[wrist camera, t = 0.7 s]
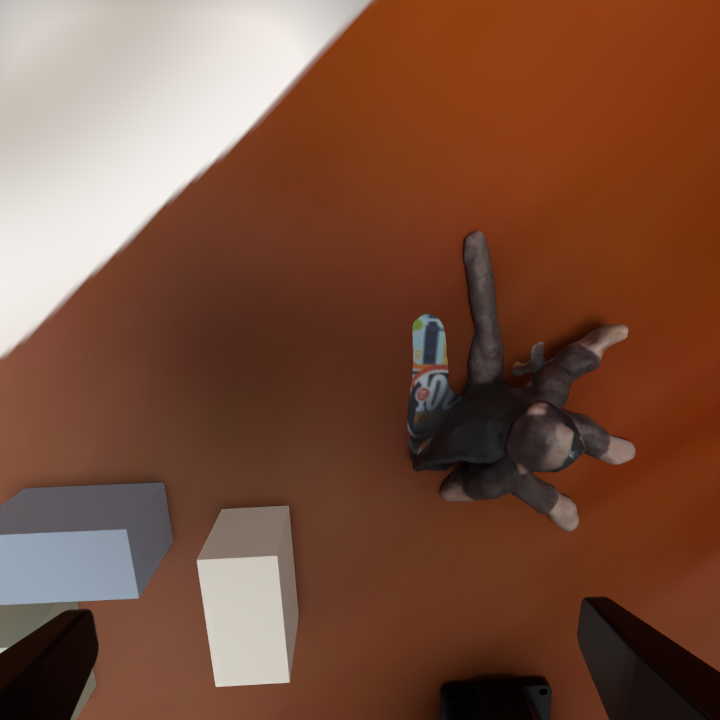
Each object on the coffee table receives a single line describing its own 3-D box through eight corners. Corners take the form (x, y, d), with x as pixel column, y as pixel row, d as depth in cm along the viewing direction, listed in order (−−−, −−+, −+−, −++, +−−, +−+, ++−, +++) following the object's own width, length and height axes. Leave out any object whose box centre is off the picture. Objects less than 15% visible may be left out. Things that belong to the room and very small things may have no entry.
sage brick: (97, 682, 25) (51, 761, 21) (37, 685, 25) (-21, 765, 21) (74, 581, 23) (19, 646, 19) (9, 584, 23) (-59, 651, 19)
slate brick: (165, 480, 22) (126, 529, 18) (174, 539, 23) (139, 598, 19) (27, 486, 22) (-43, 536, 18) (41, 546, 23) (-22, 606, 19)
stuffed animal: (519, 574, 23) (411, 547, 14) (423, 441, 29) (312, 369, 21) (704, 429, 21) (707, 299, 12) (557, 322, 28) (493, 192, 19)
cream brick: (298, 613, 24) (289, 682, 20) (236, 617, 24) (215, 686, 20) (289, 503, 22) (277, 555, 19) (222, 507, 22) (196, 560, 19)
